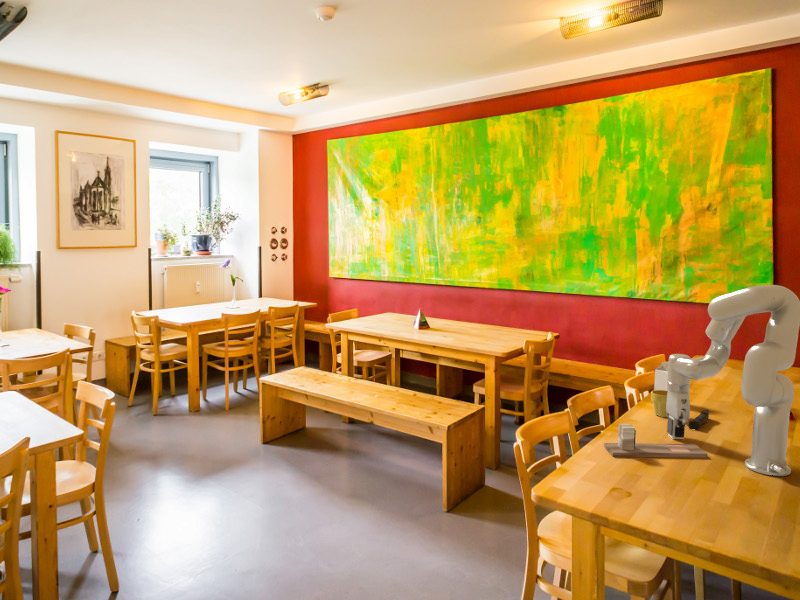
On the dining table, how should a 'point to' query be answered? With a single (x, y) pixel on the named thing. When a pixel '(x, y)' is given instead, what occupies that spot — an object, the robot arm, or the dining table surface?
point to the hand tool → (699, 420)
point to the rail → (649, 447)
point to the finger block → (672, 427)
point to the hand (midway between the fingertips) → (675, 433)
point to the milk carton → (661, 377)
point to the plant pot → (659, 402)
